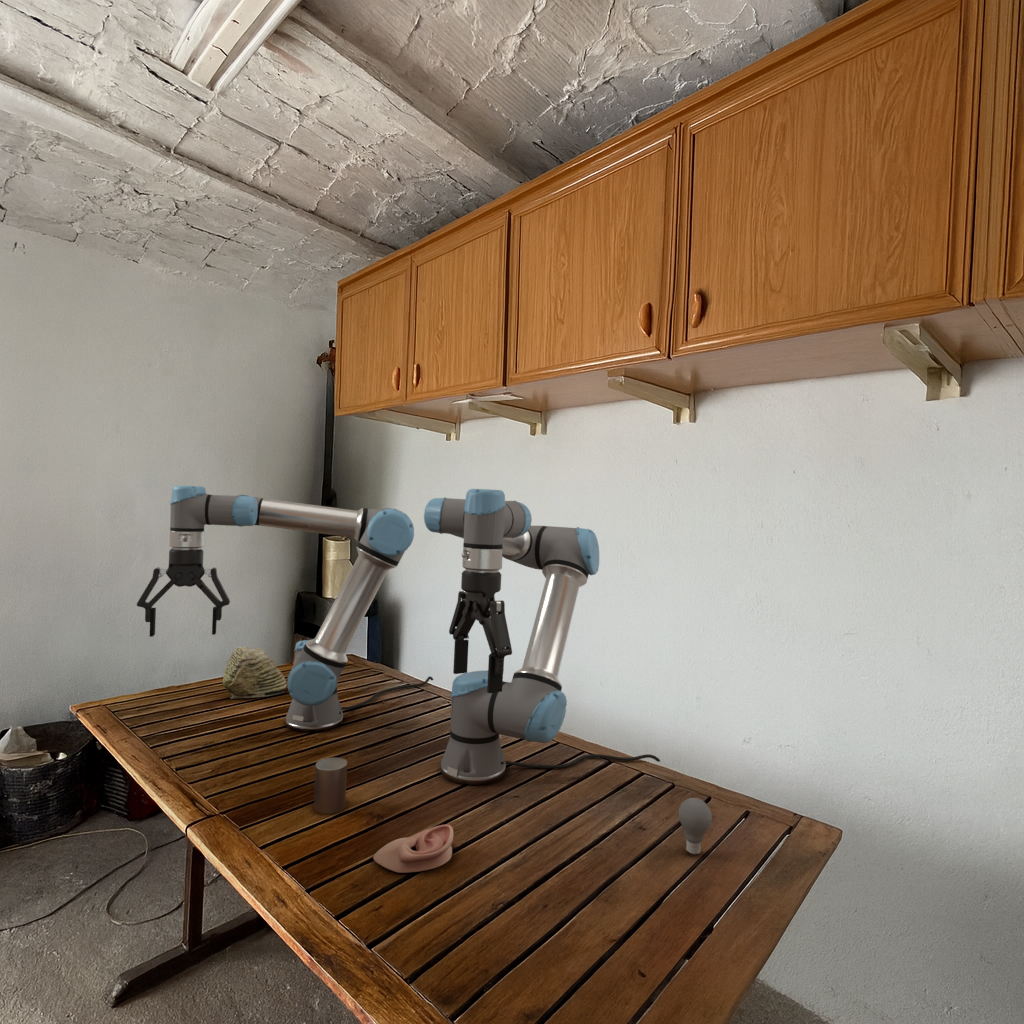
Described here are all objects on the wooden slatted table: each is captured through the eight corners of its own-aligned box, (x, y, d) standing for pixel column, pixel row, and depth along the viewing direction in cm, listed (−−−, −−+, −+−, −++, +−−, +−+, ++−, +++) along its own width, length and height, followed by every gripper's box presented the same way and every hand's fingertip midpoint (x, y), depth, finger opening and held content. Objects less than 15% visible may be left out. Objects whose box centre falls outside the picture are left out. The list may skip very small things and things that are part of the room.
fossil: (218, 695, 195) (220, 647, 195) (278, 685, 208) (279, 640, 207) (228, 703, 189) (230, 653, 188) (289, 692, 201) (290, 645, 201)
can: (315, 800, 132) (317, 758, 132) (346, 798, 133) (347, 756, 133) (312, 815, 126) (314, 770, 126) (344, 813, 127) (346, 769, 127)
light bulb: (672, 843, 121) (674, 791, 121) (702, 843, 121) (705, 792, 121) (683, 861, 115) (685, 807, 115) (715, 861, 115) (717, 807, 115)
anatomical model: (366, 844, 109) (392, 812, 120) (365, 867, 109) (391, 833, 120) (440, 856, 106) (459, 823, 117) (439, 880, 106) (458, 844, 117)
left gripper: (124, 549, 147) (121, 639, 148) (241, 550, 156) (238, 635, 157) (131, 546, 154) (128, 632, 155) (242, 547, 163) (239, 629, 164)
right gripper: (435, 563, 129) (431, 667, 129) (498, 579, 107) (492, 703, 108) (468, 563, 132) (463, 664, 133) (534, 578, 111) (529, 698, 112)
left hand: (183, 634), depth 156 cm, fingers open, 13 cm apart
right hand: (476, 682), depth 120 cm, fingers open, 13 cm apart
